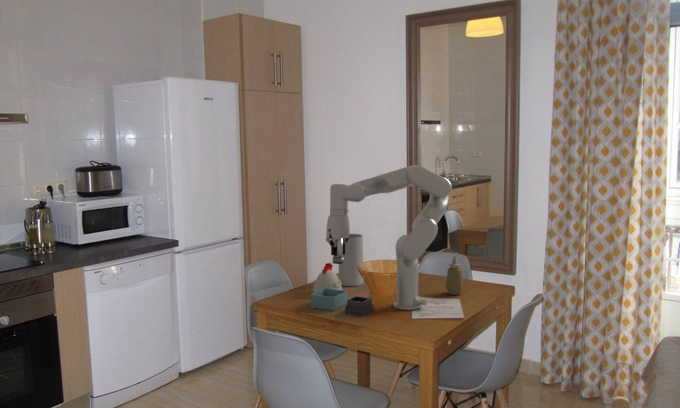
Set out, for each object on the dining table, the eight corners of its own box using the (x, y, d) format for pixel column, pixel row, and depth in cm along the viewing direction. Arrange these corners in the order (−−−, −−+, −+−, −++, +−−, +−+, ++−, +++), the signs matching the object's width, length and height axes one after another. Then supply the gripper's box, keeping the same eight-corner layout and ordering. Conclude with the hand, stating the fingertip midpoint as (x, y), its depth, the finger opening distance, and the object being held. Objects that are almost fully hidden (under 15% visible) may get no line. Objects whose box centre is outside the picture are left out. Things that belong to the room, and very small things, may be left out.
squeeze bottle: (444, 295, 264) (444, 257, 262) (447, 290, 271) (447, 254, 269) (461, 296, 261) (461, 258, 259) (464, 292, 268) (464, 255, 266)
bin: (347, 304, 251) (347, 291, 251) (334, 311, 241) (334, 297, 240) (324, 300, 257) (324, 288, 256) (310, 307, 247) (310, 294, 246)
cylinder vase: (356, 279, 296) (355, 233, 293) (367, 285, 285) (367, 236, 282) (334, 282, 291) (334, 235, 288) (345, 288, 279) (344, 238, 277)
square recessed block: (373, 310, 241) (373, 298, 241) (364, 316, 233) (364, 303, 233) (355, 307, 245) (354, 295, 245) (345, 313, 238) (345, 300, 237)
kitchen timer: (347, 292, 271) (346, 262, 270) (332, 299, 260) (332, 267, 258) (323, 289, 278) (322, 259, 277) (307, 295, 267) (306, 264, 265)
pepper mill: (338, 261, 247) (339, 232, 245) (345, 263, 243) (346, 233, 242) (330, 262, 243) (330, 232, 242) (337, 264, 240) (337, 234, 238)
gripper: (346, 210, 249) (346, 251, 251) (318, 213, 238) (317, 255, 240) (358, 212, 244) (357, 253, 246) (330, 215, 232) (329, 258, 234)
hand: (338, 254), depth 243 cm, fingers closed on pepper mill, 4 cm apart
